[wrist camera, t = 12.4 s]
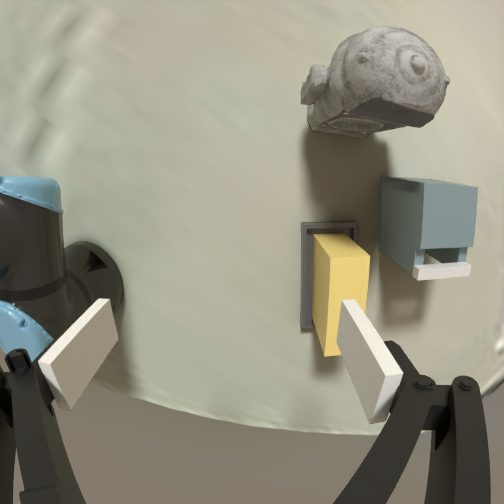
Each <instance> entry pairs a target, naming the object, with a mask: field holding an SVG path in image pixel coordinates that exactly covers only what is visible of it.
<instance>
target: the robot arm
mask: <svg viewBox="0 0 504 504" xmlns="http://www.w3.org/2000/svg"><path fill="white" fill-rule="evenodd" d="M62 214H63V210H62V207H61V191H60V186H59V184H58V183H57V182H56V181H55V180H54V179H52V178H42V177H15V176H0V348H1V349H2V350H3V352H4V353H5V354H6V356H5V361H6V363H7V365H8V368H9V370H10V372H3V370H2V368H1V366H0V504H13V478H14V464H15V453H16V447H17V453H18V459H19V465H20V470H21V475H22V479H23V484H24V489H25V490H24V491H22V492H20V494H19V496H20V501H21V504H86V503H85V500H84V498H83V496H82V493H81V491H80V489H79V486H78V483H77V481H76V478H75V476H74V473H73V471H72V468H71V465H70V463H69V460H68V457H67V453H66V450H65V447H64V444H63V441H62V437H61V434H60V431H59V427H58V423H57V420H56V416H55V412H54V408H53V406H52V404H51V402H52V401H53V400H54V398H55V400H56V402H57V404H58V406H59V408H63V409H66V410H70V411H71V410H72V409H73V407H74V406H75V404H76V403H77V401H78V399H79V398H80V396H81V395H82V393H83V392H84V390H85V389H86V387H87V385H88V384H89V382H90V381H91V379H92V378H93V376H94V375H95V373H96V372H97V370H98V369H99V367H100V366H101V364H102V363H103V361H104V360H105V358H106V357H107V355H108V354H109V353H110V351H111V350H112V348H113V347H114V345H115V344H116V342H117V341H118V339H119V338H118V334H117V330H116V326H115V321H114V317H113V313H114V312H115V311H116V310H117V308H118V307H119V305H120V303H121V301H122V297H123V282H122V278H121V274H120V272H119V269H118V267H117V265H116V264H115V262H114V261H113V259H112V258H111V257H110V256H109V254H108V253H107V252H105V251H104V250H103V249H102V248H100V247H99V246H97V245H95V244H93V243H89V242H75V243H73V244H71V245H69V246H67V247H65V248H64V240H63V221H62ZM336 343H337V345H338V347H339V350H340V352H341V355H342V357H343V359H344V362H345V364H346V367H347V369H348V371H349V374H350V376H351V379H352V381H353V384H354V386H355V389H356V391H357V394H358V396H359V399H360V401H361V404H362V406H363V409H364V411H365V414H366V416H367V419H368V422H369V424H373V423H379V422H384V421H386V419H387V417H388V414H389V412H390V416H389V418H388V420H387V422H386V424H385V425H384V427H383V429H382V431H381V433H380V434H379V436H378V438H377V439H376V441H375V443H374V444H373V446H372V448H371V449H370V451H369V453H368V454H367V456H366V457H365V459H364V460H363V462H362V464H361V465H360V467H359V468H358V470H357V471H356V473H355V474H354V476H353V477H352V478H351V480H350V481H349V483H348V484H347V485H346V487H345V488H344V490H343V491H342V492H341V494H340V495H339V496H338V498H337V499H336V500H335V501H334V503H333V504H386V503H387V501H388V499H389V497H390V495H391V494H392V492H393V490H394V488H395V486H396V484H397V482H398V481H399V479H400V477H401V474H402V473H403V471H404V469H405V467H406V464H407V462H408V460H409V458H410V456H411V454H412V451H413V449H414V447H415V445H416V442H417V440H418V437H419V435H420V433H421V430H432V437H431V453H430V464H429V474H428V482H427V490H426V497H425V503H424V504H490V498H491V497H490V495H491V489H490V463H489V449H488V440H487V431H486V424H485V417H484V411H483V404H482V399H481V394H480V389H479V385H478V383H477V382H476V381H475V380H474V379H473V378H471V377H468V376H458V377H456V378H455V379H454V380H453V382H452V384H451V385H436V383H435V381H434V380H433V379H431V378H430V377H428V376H425V375H420V374H419V373H418V371H417V370H416V368H415V367H414V366H413V364H412V363H411V361H410V360H409V359H408V357H407V355H406V354H405V353H404V351H403V350H402V348H401V347H400V346H399V345H398V344H396V343H395V342H393V341H384V342H383V341H382V339H381V338H380V336H379V334H378V333H377V331H376V330H375V328H374V327H373V325H372V324H371V322H370V321H369V319H368V318H367V317H366V315H365V314H364V312H363V311H362V309H361V308H360V306H359V305H358V303H357V302H356V300H355V299H348V300H342V301H341V309H340V317H339V325H338V332H337V339H336Z"/></svg>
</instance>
